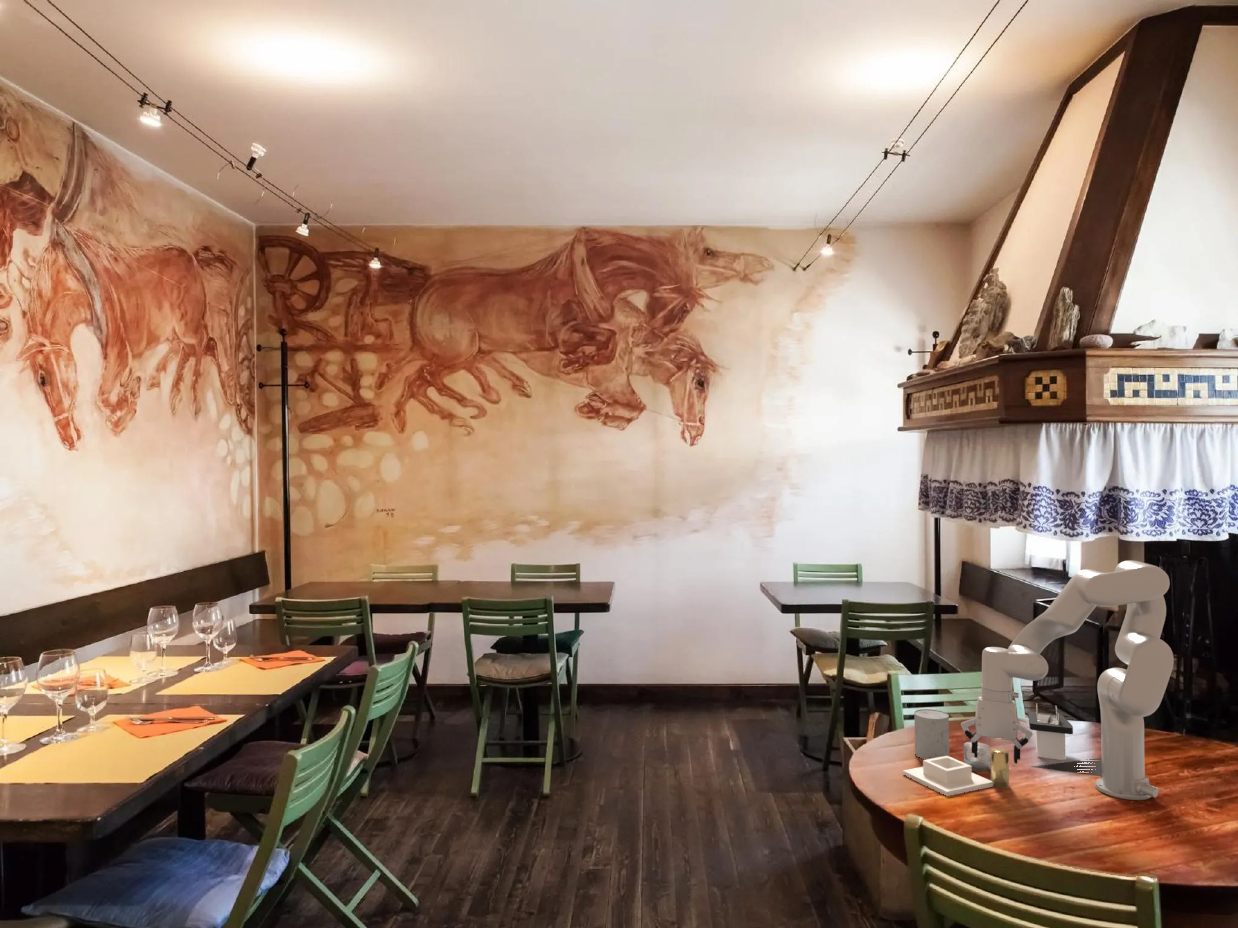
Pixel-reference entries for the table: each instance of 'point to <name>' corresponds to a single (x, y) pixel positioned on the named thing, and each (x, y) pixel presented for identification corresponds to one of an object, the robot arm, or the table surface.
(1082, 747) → the table surface
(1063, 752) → the black-topped pedestal
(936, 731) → the grey cylinder
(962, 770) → the flange socket
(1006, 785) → the cylinder
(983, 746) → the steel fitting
